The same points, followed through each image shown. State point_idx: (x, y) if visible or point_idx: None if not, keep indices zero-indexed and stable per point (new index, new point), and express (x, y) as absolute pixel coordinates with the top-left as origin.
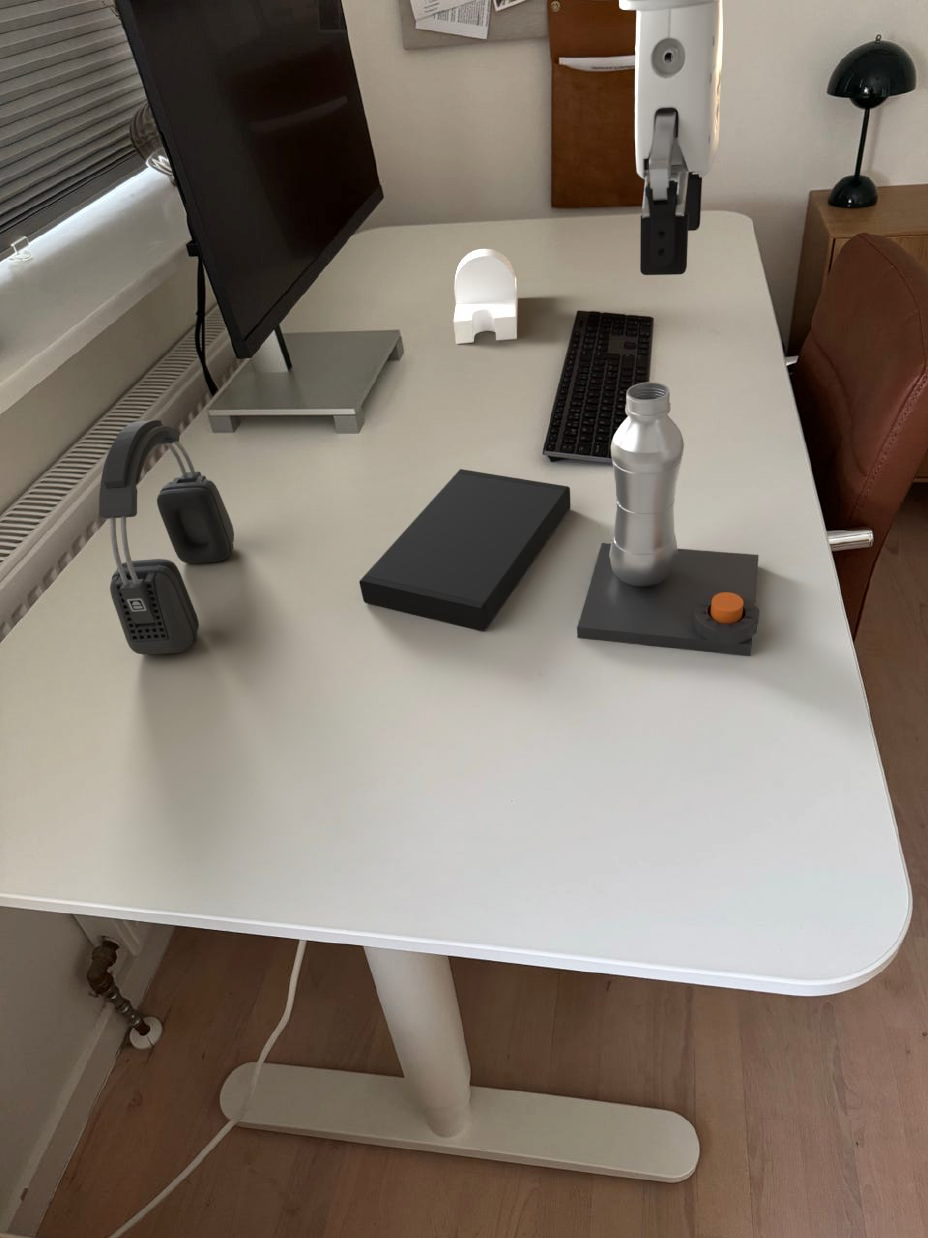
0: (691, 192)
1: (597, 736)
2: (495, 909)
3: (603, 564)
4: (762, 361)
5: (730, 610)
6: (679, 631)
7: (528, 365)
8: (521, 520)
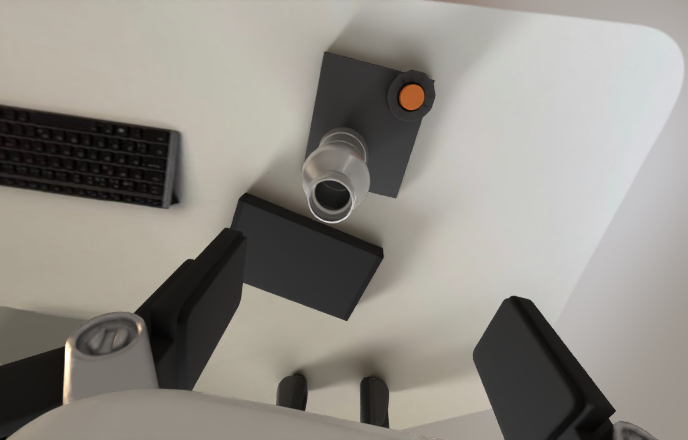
0: (207, 303)
1: (483, 188)
2: (581, 241)
3: None
4: None
5: (423, 97)
6: (411, 131)
7: (13, 216)
8: (285, 233)
